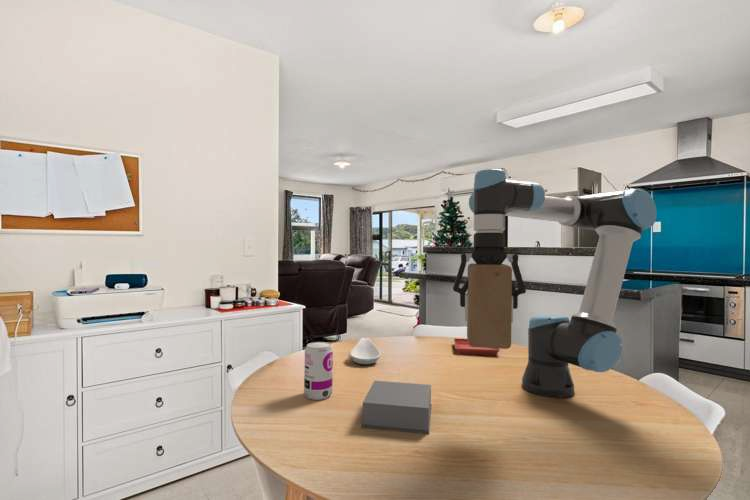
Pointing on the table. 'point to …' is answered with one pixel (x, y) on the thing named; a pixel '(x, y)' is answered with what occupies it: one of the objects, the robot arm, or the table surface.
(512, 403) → the table surface
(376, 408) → the charcoal base block
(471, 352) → the plant saucer
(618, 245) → the robot arm
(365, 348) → the spoon rest
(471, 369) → the table surface
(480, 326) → the wooden block
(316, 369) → the supplement can
